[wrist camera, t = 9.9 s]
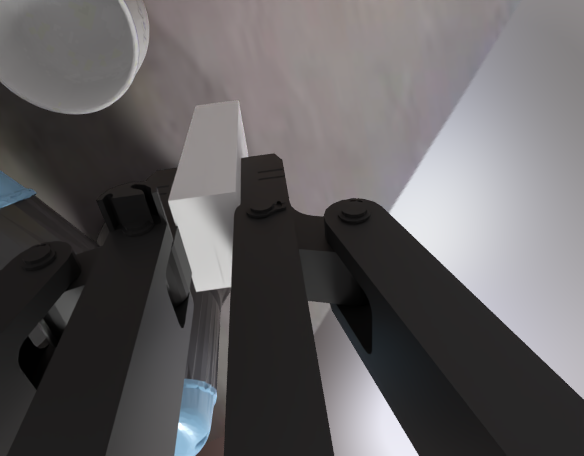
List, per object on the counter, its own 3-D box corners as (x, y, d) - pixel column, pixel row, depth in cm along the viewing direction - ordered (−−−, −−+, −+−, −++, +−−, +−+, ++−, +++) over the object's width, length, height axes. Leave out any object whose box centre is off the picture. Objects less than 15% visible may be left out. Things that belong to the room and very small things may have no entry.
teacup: (186, 20, 35) (171, 40, 28) (106, 110, 38) (77, 146, 32) (22, -149, 28) (-46, -175, 22) (-56, -22, 32) (-135, -11, 25)
